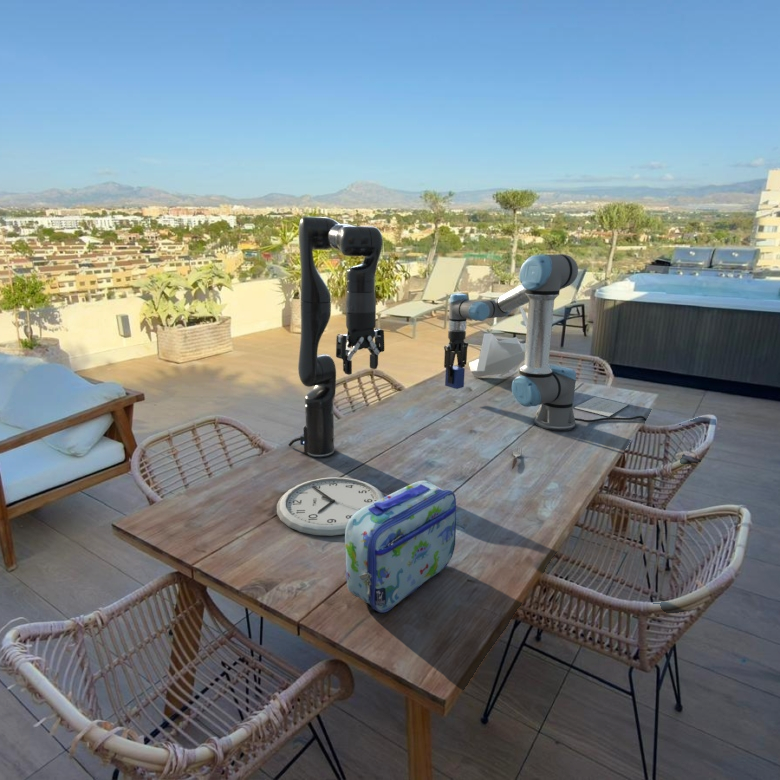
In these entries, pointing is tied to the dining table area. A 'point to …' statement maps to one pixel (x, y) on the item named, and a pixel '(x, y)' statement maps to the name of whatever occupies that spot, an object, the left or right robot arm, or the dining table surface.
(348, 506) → the wall clock
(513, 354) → the white plastic object
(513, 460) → the fork
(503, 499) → the dining table surface
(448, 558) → the lunch box
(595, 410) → the invitation card
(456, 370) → the block
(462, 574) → the dining table surface
